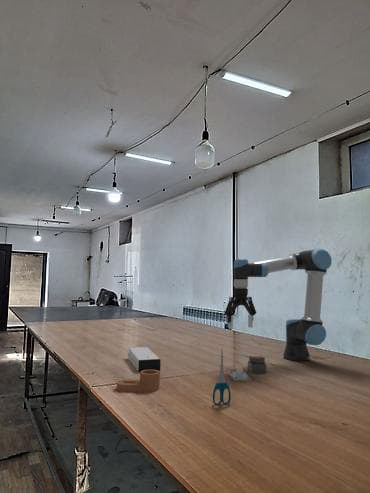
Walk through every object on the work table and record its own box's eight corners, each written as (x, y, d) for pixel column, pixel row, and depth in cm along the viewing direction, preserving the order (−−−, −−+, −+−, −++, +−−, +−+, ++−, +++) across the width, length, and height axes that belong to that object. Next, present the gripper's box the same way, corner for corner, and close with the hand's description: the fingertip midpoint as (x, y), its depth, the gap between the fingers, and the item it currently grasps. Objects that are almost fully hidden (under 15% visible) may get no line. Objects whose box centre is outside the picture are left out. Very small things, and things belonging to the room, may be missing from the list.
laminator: (160, 371, 185) (160, 358, 186) (136, 373, 182) (136, 360, 182) (147, 357, 218) (147, 346, 218) (126, 358, 214) (126, 347, 214)
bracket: (159, 385, 159) (159, 369, 160) (159, 391, 151) (159, 374, 152) (117, 386, 158) (118, 369, 159) (115, 391, 150) (115, 374, 151)
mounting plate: (244, 374, 181) (244, 363, 181) (250, 380, 169) (250, 369, 169) (228, 374, 180) (228, 363, 180) (233, 380, 168) (233, 369, 169)
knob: (262, 369, 191) (261, 354, 192) (266, 373, 183) (266, 357, 184) (247, 369, 190) (247, 354, 191) (251, 373, 182) (251, 357, 183)
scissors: (213, 405, 135) (213, 350, 137) (212, 404, 136) (213, 349, 138) (230, 404, 137) (230, 349, 139) (229, 403, 138) (229, 348, 139)
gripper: (253, 287, 206) (253, 326, 204) (217, 287, 193) (217, 328, 191) (262, 288, 200) (263, 327, 198) (226, 287, 187) (226, 330, 185)
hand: (240, 328), depth 194 cm, fingers open, 13 cm apart
